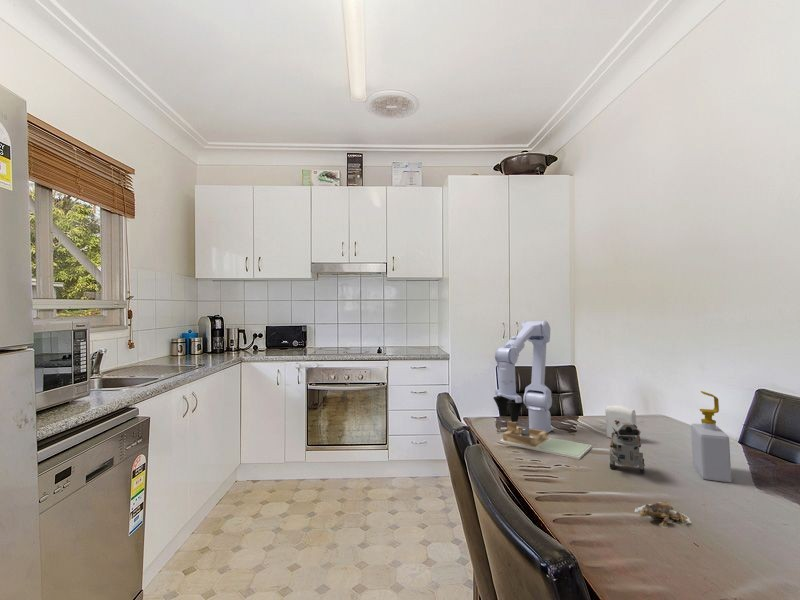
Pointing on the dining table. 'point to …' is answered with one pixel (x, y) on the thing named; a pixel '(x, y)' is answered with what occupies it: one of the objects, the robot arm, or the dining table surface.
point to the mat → (564, 446)
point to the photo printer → (618, 416)
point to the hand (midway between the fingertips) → (508, 418)
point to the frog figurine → (662, 514)
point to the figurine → (626, 445)
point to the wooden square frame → (516, 438)
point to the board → (546, 450)
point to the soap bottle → (711, 447)
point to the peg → (525, 432)
